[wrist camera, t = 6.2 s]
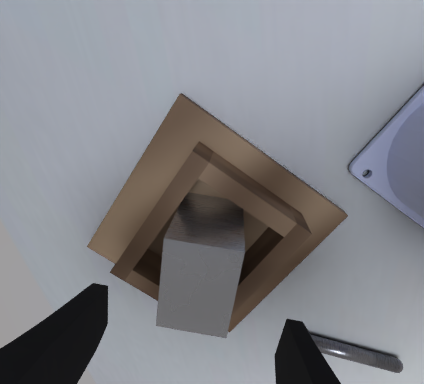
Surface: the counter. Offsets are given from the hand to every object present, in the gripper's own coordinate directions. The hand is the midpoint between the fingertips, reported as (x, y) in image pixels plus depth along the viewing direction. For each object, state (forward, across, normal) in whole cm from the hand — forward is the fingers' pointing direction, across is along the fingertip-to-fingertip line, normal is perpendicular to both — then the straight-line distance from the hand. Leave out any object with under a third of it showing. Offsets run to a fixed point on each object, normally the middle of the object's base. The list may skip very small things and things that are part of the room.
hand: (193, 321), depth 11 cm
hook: (+8, -11, +9) cm, 17 cm away
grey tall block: (+7, 0, 0) cm, 7 cm away
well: (+8, 0, 0) cm, 8 cm away
